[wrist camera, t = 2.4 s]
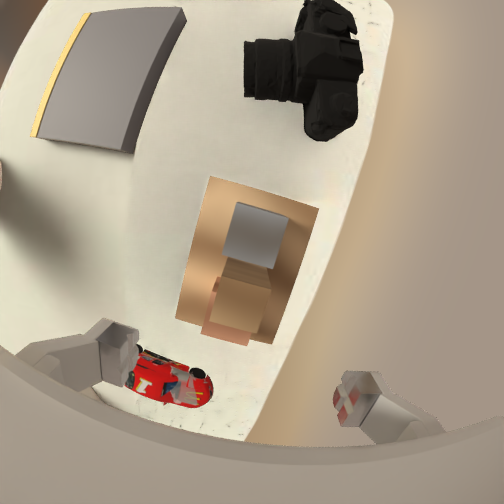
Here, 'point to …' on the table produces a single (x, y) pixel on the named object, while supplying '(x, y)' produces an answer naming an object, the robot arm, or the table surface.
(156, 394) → the race car
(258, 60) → the film camera
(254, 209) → the gray cube
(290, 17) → the table surface
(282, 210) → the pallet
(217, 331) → the terracotta crate
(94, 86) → the plate
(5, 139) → the table surface
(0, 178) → the decorative candle
